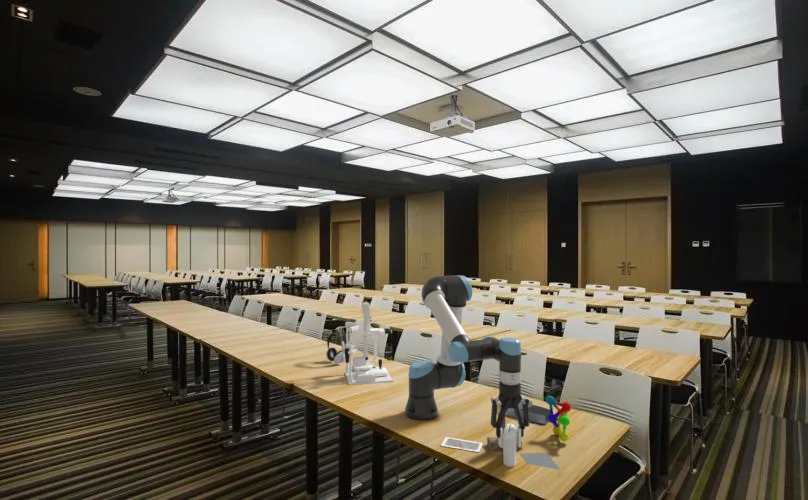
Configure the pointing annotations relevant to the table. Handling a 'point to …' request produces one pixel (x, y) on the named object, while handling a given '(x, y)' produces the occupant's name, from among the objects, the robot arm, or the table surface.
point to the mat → (540, 460)
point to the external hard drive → (534, 414)
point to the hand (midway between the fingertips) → (509, 445)
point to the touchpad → (462, 444)
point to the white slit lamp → (364, 354)
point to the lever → (512, 408)
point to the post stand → (493, 441)
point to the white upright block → (509, 445)
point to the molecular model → (562, 417)
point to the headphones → (332, 353)
